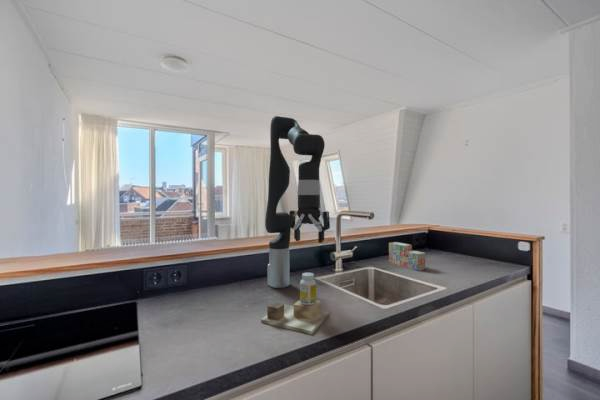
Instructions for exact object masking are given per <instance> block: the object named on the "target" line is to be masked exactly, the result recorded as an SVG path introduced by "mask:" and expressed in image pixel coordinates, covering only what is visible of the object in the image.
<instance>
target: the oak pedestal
mask: <svg viewBox="0 0 600 400" xmlns="http://www.w3.org/2000/svg"><path fill="white" fill-rule="evenodd" d="M292 306H294V317H299V318H303V319H308V320H314V319H315V318H316V317H317V316H318V315H319V314H320V313H321V312H322V300H320V299H319V300H318V299H316V303H315V304H313V305H303V304H301V302H300V299H298V301H296V302H295V303H293V305H292Z"/></svg>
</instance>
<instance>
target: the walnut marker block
mask: <svg viewBox="0 0 600 400" xmlns="http://www.w3.org/2000/svg"><path fill="white" fill-rule="evenodd" d="M284 304H285V303H281V302H276V301H273V302H271V303H270V304H269V305H267V306H266V307H267V308H266V309H267V310H266V311H267V314H266V315H267V318H268V319H273V320H277V321H278V320H280V319H281V318H282V317H283V316H284Z"/></svg>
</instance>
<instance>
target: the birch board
mask: <svg viewBox="0 0 600 400" xmlns="http://www.w3.org/2000/svg"><path fill="white" fill-rule="evenodd" d="M283 304H284V316H283V317H282V318H281V319H280V320H278V321H277V320H273V319H268V318H267V314H266V315H265V316H264V317H262V318H261V319H260V323H262V324H267V325H271V326H275V327H278V328H279V327H280V328H283V329H287V330H292V331H295V332H300V333H303V334H304V333H305V334H308V335H313V334H314V332H315V331H316V330H318V328H320V326H321V325H322V324H323V323H324V321H326V320H327V318H328V317H329V316H330V315H329V312H324V311H321V313H320V314H319V315H318V316H317V317H316V318H315V319H314V320H308V319H303V318H299V317H294V305H290V304H285V303H283Z"/></svg>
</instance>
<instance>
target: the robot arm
mask: <svg viewBox="0 0 600 400" xmlns="http://www.w3.org/2000/svg"><path fill="white" fill-rule="evenodd" d="M269 131H270V134H269V135H270V138H269V139H270V156H269V169H268V170H269V171H268V190H267V191H268V192H267V193H268V194H267V204H266V210H265V222H264V225H265V230H266V232H267V233H269V234H278V235H277V237H275V238H274V239H272V240H270V241H269V242H268V257H269V258H268V261H269V263H268V264H267V268H266V269H267V272H266V274H267V286H270V287H271V288H275V289H280V288H281V289H282V288H283V289H284V288H287V287H289V286H290V243H291V229H293V231H294V232H293V233H294V234H293V239H294V240H295V241H296V242H299V241H301V229H300V228H301V226H302V225H304V224H305V225H307V224H308V225H314V226H315V228H317V230H318V232H317V235H318V237H317V240H318V243H319V244H320V243H321V244H322V243H323V242H324V241H325V231H328V230H329V229H331V223H330V222H331V221H330V212H329V211H328V210H327V211H325V210H324V211H321V185H320V167H321V161H322V157H323V154H324V151H325V150H324V149H325V144H326V143H325V140H324V138H323V136H321V135H320V134H311V133H309V132H308V131H307V130H305V129H303V128H302V127H301V126H300V124H299V123H298V121H297V120H296V119H294V118H292V117H285V116H278V115H274V116H273V117H271V120H270V130H269ZM280 140H288V141H289V143H290V145H292V147H293V151H294V153H295V154H296V155H299V156H311V159H310V160H309V161H305V162H301V163H299V164H298V170H297V171H298V177H297V178H298V180H297V181H298V182H297V210H294V209H293V210H290V211H289V213H288V212H285V211H284V212H281V211H280V212H277V210H278V206H279V202H280V201H281V199H282V197H283V196H284V194H285V193H286V191H287V189H288V188H289V187H290V186H289V185H290V177H291V176H290V175H291V169H290V166H289V163H288V162H287V160H286V158H285V156H284V155H283V153H282V149H281V146H280ZM297 216H298V219H297ZM320 217H321V218H322V219H323V223H322V221H321V219H320ZM296 219H297V220H296Z"/></svg>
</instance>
